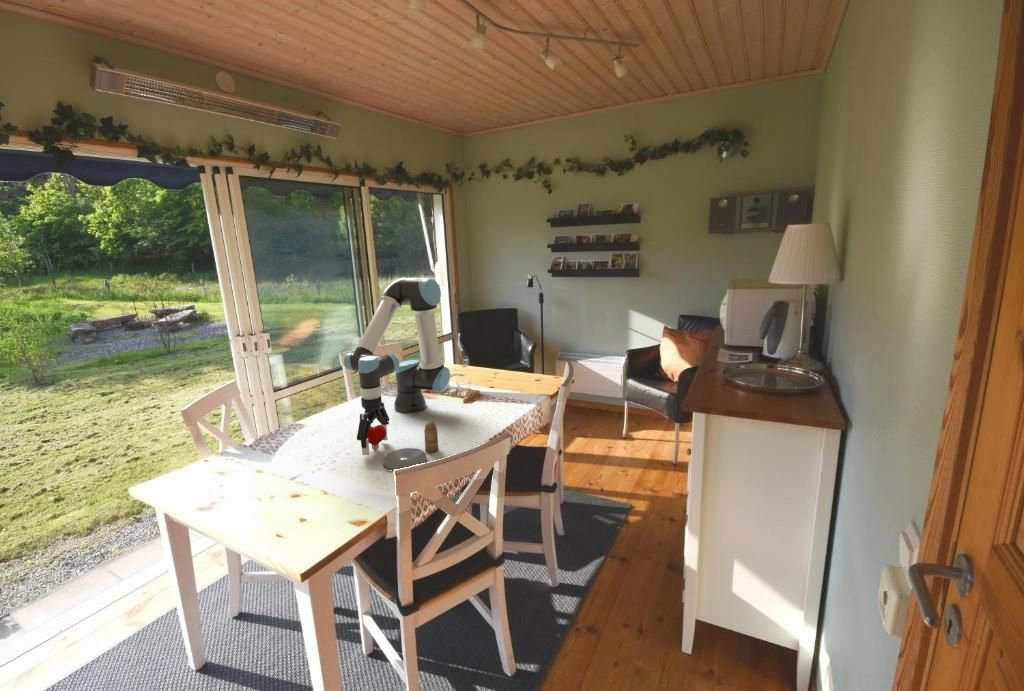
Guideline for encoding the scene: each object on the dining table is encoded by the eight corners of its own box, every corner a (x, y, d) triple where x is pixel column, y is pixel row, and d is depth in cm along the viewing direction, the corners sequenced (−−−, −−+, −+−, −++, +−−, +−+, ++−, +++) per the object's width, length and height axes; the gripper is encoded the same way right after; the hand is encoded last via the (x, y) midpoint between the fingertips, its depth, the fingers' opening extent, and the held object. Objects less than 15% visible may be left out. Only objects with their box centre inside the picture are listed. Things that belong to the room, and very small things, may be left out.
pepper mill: (428, 447, 191) (427, 419, 188) (440, 448, 190) (438, 420, 187) (423, 452, 187) (421, 424, 184) (435, 454, 185) (433, 425, 183)
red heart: (363, 455, 185) (361, 431, 182) (363, 447, 191) (361, 424, 189) (387, 452, 187) (386, 428, 185) (387, 444, 194) (385, 421, 191)
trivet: (396, 449, 189) (395, 446, 189) (433, 454, 185) (433, 450, 185) (374, 469, 174) (374, 465, 174) (414, 474, 170) (414, 470, 170)
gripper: (379, 385, 196) (383, 433, 202) (343, 407, 173) (348, 460, 178) (395, 387, 195) (399, 435, 200) (361, 408, 171) (366, 462, 176)
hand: (375, 447), depth 189 cm, fingers open, 13 cm apart
